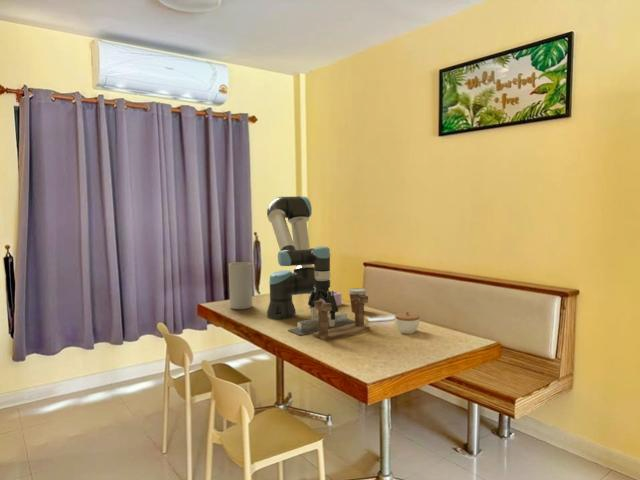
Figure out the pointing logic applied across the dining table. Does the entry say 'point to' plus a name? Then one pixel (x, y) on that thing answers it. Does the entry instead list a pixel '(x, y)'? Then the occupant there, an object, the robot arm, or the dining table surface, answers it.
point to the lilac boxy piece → (337, 297)
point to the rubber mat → (317, 328)
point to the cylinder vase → (240, 285)
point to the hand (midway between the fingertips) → (322, 323)
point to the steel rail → (313, 323)
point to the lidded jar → (407, 322)
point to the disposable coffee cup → (357, 291)
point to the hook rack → (345, 329)
